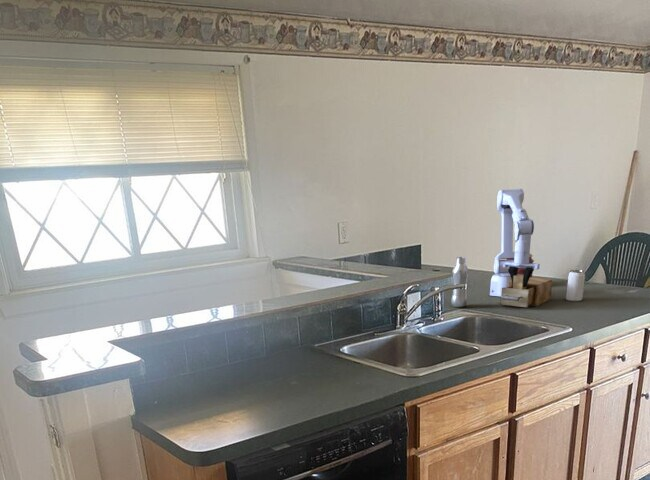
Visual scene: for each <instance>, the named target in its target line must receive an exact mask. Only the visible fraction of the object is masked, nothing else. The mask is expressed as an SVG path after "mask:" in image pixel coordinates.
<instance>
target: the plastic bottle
mask: <svg viewBox="0 0 650 480" xmlns="http://www.w3.org/2000/svg"><path fill="white" fill-rule="evenodd" d="M466 261H467V260H466V257H465V256H458V257H456V260H455V263H456V264H455V265H454V267H453V268H452V271H451V273H452V284H453V285H456V284H466V285H467V281H468V275H469V268H468V266H467V265H466ZM453 285H452V286H453ZM450 303H451V306H452V307H456V308H463V307H466V305H467V303H468V296H467V288H466V289H454V290H453V289H452V295H451V300H450Z"/></svg>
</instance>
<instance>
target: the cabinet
mask: <svg viewBox="0 0 650 480" xmlns="http://www.w3.org/2000/svg"><path fill="white" fill-rule="evenodd" d="M511 285H512V281H511V282H509V286H511ZM527 286H534V287H536V294H535V302H534V303H532V304H530V305H529V306H531V307H532V306H533V307H537V306H539V305H541V304H544V303H546V302H549V301H551V298H552V287H553V279H552V278H543V277H533V276H532V277H530V278H529V281H528V284H527Z"/></svg>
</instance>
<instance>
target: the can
mask: <svg viewBox="0 0 650 480" xmlns="http://www.w3.org/2000/svg"><path fill="white" fill-rule="evenodd" d="M585 279H586V273H585V270H582V269H571V270H570V271H569V273H568V277H567V286H566V295H565V300H566V301H568V302H582V300H583V296H584V288H585V281H586V280H585Z"/></svg>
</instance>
